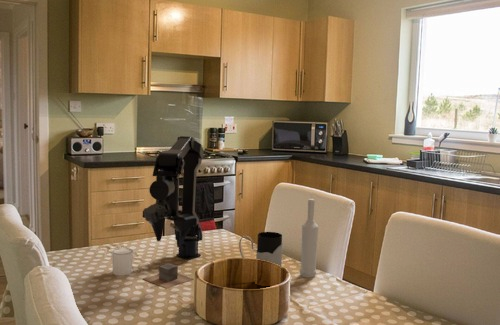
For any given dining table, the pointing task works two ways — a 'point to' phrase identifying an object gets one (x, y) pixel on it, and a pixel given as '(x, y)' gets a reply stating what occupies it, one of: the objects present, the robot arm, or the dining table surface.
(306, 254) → the bottle
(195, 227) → the robot arm
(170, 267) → the walnut lid
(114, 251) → the white cup
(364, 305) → the dining table surface
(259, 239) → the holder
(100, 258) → the dining table surface
